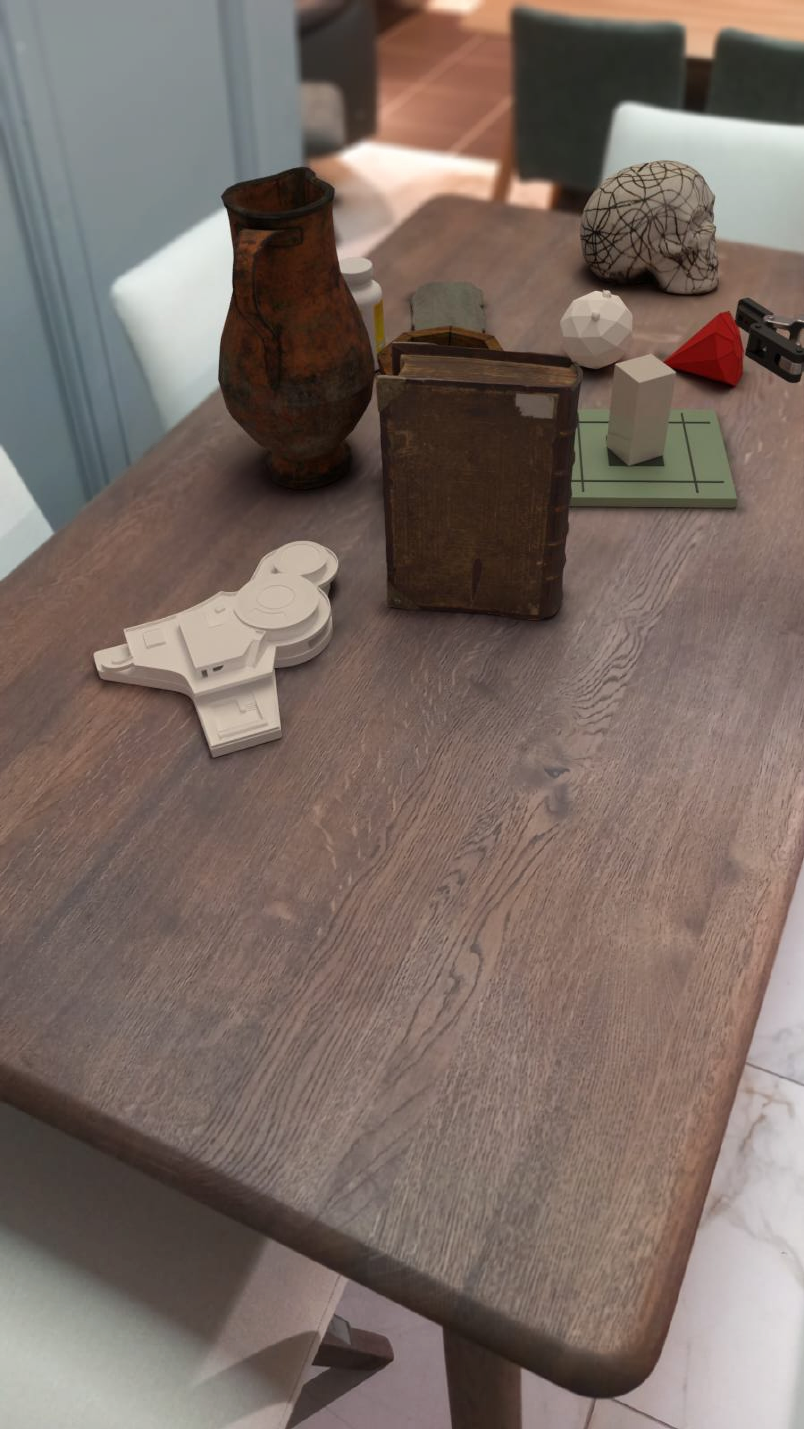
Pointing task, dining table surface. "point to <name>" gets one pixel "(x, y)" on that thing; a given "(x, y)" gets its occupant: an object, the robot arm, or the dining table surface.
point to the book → (477, 477)
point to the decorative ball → (596, 329)
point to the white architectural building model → (235, 646)
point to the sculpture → (653, 228)
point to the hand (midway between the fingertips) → (780, 297)
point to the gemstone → (712, 351)
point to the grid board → (654, 466)
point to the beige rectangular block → (640, 409)
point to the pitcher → (292, 330)
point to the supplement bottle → (366, 299)
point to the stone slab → (448, 306)
